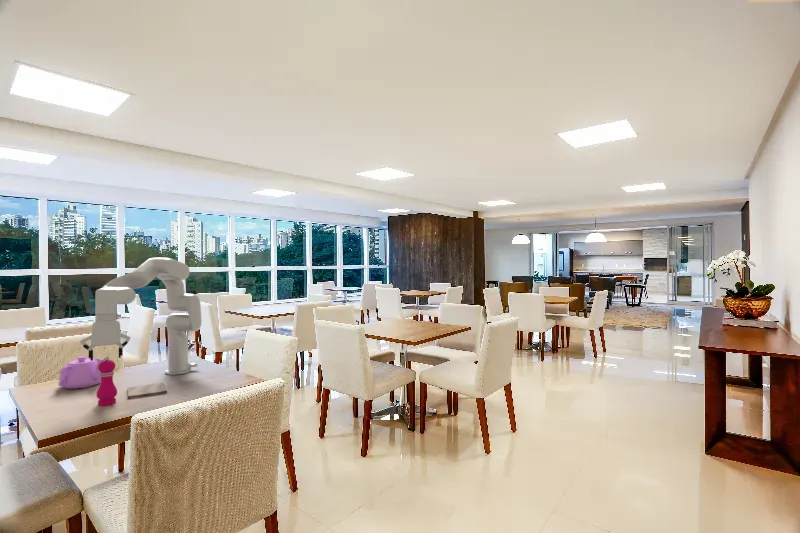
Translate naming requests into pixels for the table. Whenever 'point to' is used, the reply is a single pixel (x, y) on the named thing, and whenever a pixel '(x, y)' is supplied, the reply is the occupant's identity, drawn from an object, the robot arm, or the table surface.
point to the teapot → (80, 373)
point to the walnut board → (146, 390)
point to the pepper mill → (106, 383)
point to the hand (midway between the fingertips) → (105, 358)
